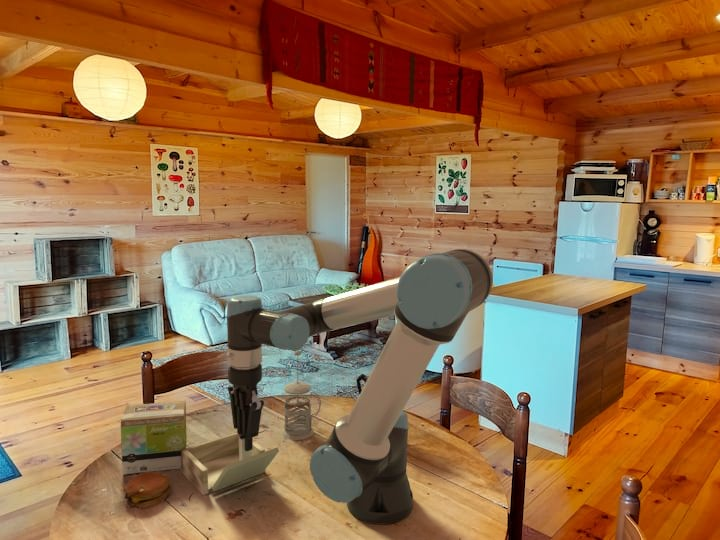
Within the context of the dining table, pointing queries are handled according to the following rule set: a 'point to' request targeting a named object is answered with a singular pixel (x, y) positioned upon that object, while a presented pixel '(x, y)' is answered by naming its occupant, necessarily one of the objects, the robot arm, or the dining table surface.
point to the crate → (211, 460)
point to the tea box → (153, 436)
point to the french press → (302, 424)
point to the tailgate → (244, 469)
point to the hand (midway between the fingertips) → (246, 461)
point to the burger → (147, 489)
